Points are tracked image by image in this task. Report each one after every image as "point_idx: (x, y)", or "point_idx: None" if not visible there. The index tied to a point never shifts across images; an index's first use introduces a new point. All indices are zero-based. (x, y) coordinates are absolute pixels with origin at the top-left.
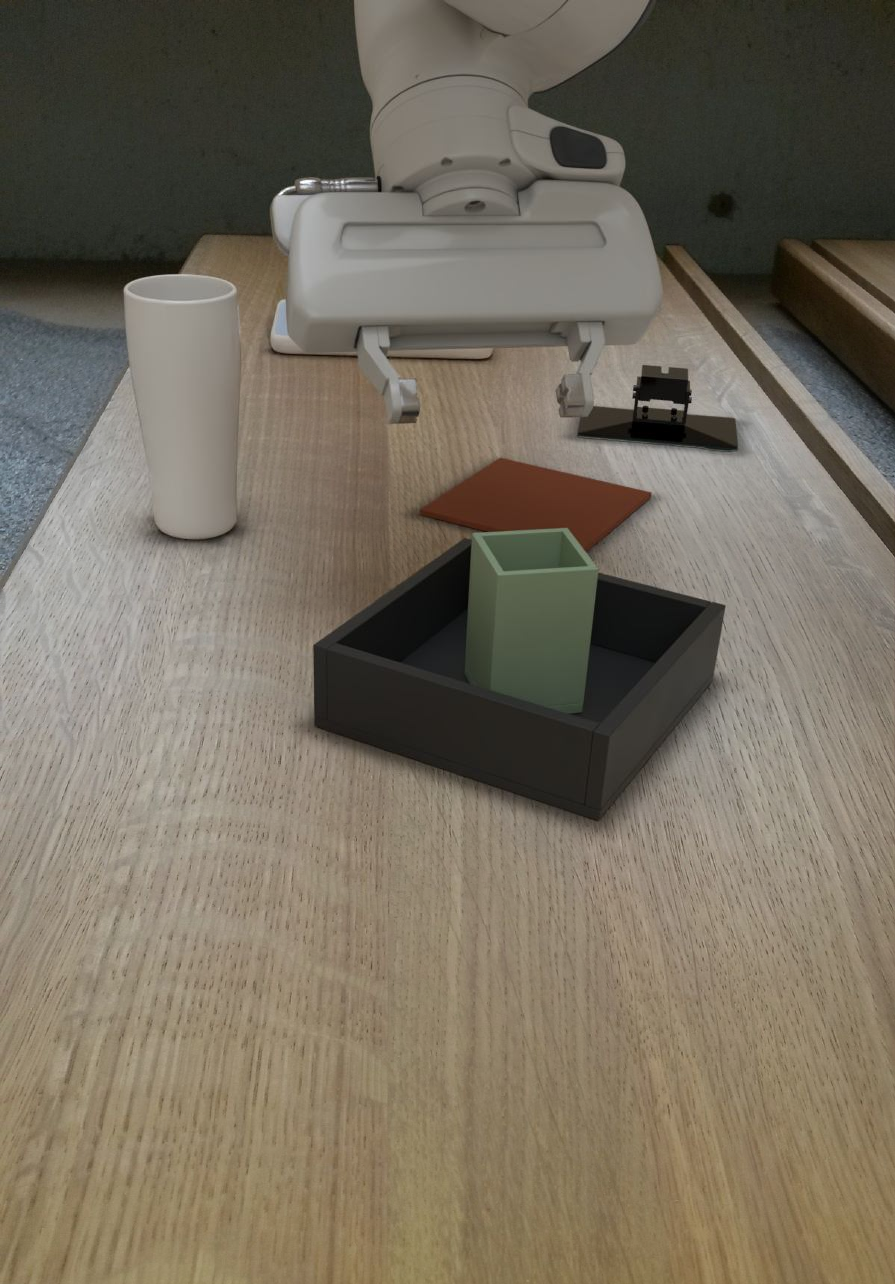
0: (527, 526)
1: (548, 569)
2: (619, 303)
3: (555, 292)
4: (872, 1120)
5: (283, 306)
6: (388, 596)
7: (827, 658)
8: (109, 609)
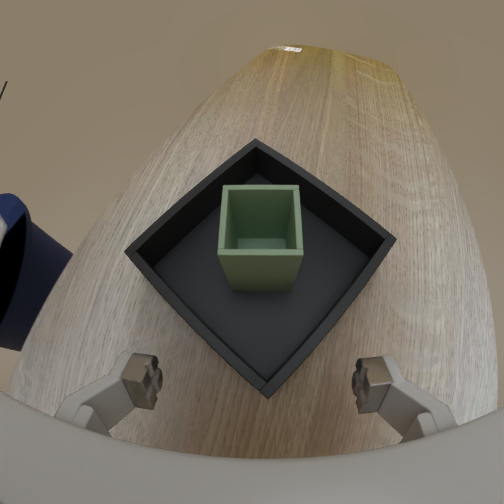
0: None
1: (259, 187)
2: (17, 411)
3: (90, 466)
4: (233, 77)
5: None
6: (350, 298)
7: (79, 282)
8: (466, 397)
